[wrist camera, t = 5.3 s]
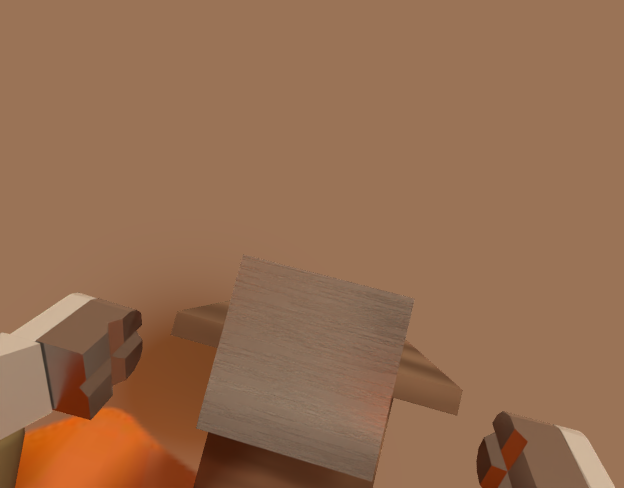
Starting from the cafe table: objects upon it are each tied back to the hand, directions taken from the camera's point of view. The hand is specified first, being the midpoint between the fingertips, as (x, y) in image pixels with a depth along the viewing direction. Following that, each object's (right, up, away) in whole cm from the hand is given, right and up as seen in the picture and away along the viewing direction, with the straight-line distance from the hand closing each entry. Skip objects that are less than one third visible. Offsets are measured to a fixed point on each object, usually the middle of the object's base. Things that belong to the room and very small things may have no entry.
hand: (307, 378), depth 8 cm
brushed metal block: (0, -2, +11) cm, 11 cm away
